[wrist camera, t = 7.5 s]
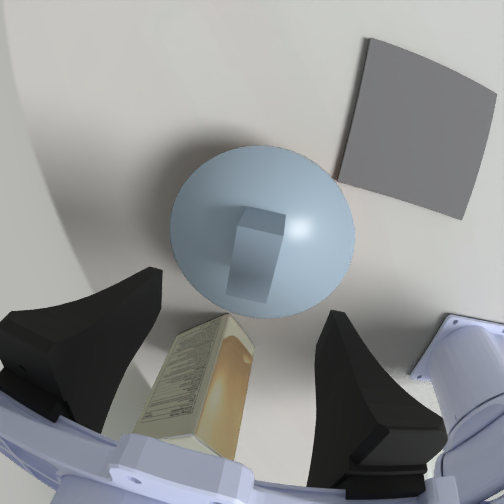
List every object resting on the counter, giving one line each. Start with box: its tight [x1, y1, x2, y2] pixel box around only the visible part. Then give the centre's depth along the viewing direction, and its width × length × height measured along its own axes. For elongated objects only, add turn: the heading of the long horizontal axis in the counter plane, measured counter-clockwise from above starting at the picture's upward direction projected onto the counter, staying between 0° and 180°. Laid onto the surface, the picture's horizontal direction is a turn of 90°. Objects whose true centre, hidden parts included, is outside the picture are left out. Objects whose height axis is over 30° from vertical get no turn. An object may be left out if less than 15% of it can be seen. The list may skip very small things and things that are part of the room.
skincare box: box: [132, 314, 255, 461], centre depth 22 cm, size 6×4×12 cm
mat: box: [337, 38, 497, 220], centre depth 18 cm, size 10×10×1 cm
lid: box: [170, 145, 355, 318], centre depth 17 cm, size 11×11×4 cm
